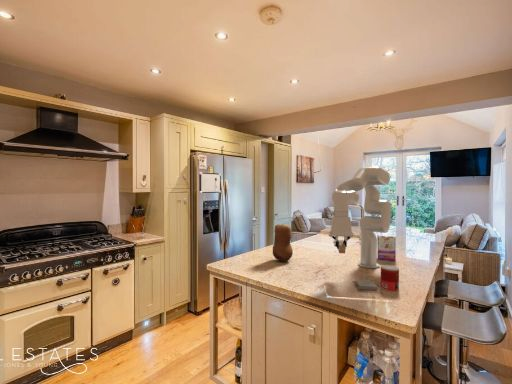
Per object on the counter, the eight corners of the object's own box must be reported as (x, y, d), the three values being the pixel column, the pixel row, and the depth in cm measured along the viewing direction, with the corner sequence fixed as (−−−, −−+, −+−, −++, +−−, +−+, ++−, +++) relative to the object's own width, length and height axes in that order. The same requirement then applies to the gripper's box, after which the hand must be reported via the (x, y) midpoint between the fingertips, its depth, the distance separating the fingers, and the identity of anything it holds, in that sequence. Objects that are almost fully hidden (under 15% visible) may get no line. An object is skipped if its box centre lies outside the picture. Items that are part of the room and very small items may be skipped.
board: (351, 282, 141) (351, 280, 141) (373, 283, 139) (373, 282, 139) (357, 293, 126) (357, 291, 126) (382, 295, 124) (382, 293, 124)
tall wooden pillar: (333, 241, 154) (333, 235, 153) (343, 241, 153) (344, 235, 152) (336, 253, 141) (336, 246, 140) (348, 253, 140) (348, 246, 139)
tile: (355, 279, 138) (359, 285, 129) (372, 280, 137) (377, 286, 128) (355, 282, 138) (359, 289, 129) (372, 283, 137) (377, 290, 128)
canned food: (399, 293, 126) (400, 270, 126) (381, 291, 129) (381, 268, 129) (397, 287, 133) (398, 265, 133) (380, 285, 136) (380, 264, 136)
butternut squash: (295, 259, 184) (295, 223, 184) (289, 264, 172) (289, 225, 171) (276, 257, 190) (276, 222, 189) (269, 262, 178) (269, 224, 177)
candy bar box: (394, 259, 187) (394, 235, 187) (395, 261, 182) (396, 237, 182) (376, 257, 190) (377, 234, 190) (377, 259, 186) (378, 236, 185)
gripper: (326, 215, 141) (326, 249, 142) (358, 215, 138) (358, 250, 139) (324, 213, 148) (324, 246, 149) (355, 213, 146) (355, 247, 147)
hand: (341, 248), depth 144 cm, fingers closed on tall wooden pillar, 2 cm apart
